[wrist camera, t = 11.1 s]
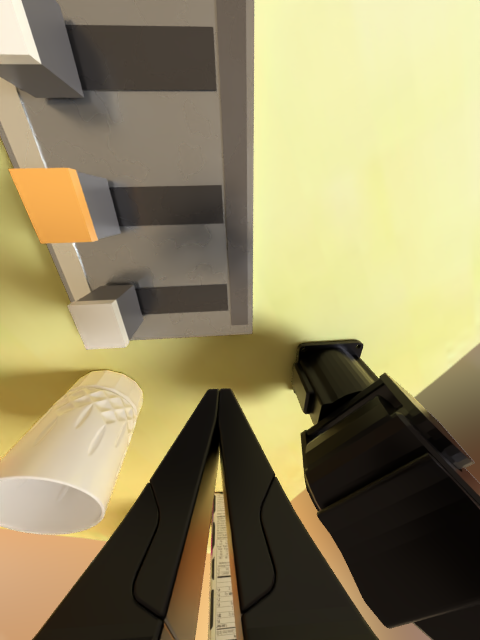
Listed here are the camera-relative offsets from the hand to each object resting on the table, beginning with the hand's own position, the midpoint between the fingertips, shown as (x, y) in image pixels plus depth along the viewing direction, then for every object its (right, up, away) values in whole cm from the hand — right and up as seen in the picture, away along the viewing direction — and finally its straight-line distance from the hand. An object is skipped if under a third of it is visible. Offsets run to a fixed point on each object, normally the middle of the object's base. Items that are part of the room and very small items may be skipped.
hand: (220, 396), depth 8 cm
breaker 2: (-8, +10, +5) cm, 14 cm away
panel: (-6, +11, +7) cm, 14 cm away
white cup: (-13, -5, +15) cm, 21 cm away
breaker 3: (-8, +4, +8) cm, 12 cm away
